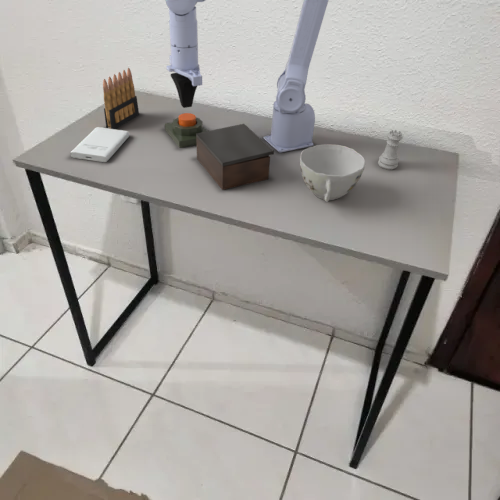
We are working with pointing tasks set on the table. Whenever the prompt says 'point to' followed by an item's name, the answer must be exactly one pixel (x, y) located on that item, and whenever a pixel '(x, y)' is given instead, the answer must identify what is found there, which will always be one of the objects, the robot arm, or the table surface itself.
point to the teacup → (331, 170)
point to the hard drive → (100, 144)
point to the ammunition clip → (119, 100)
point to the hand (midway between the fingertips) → (186, 106)
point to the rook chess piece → (391, 151)
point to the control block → (184, 132)
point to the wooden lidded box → (233, 169)
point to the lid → (234, 144)
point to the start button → (187, 119)
